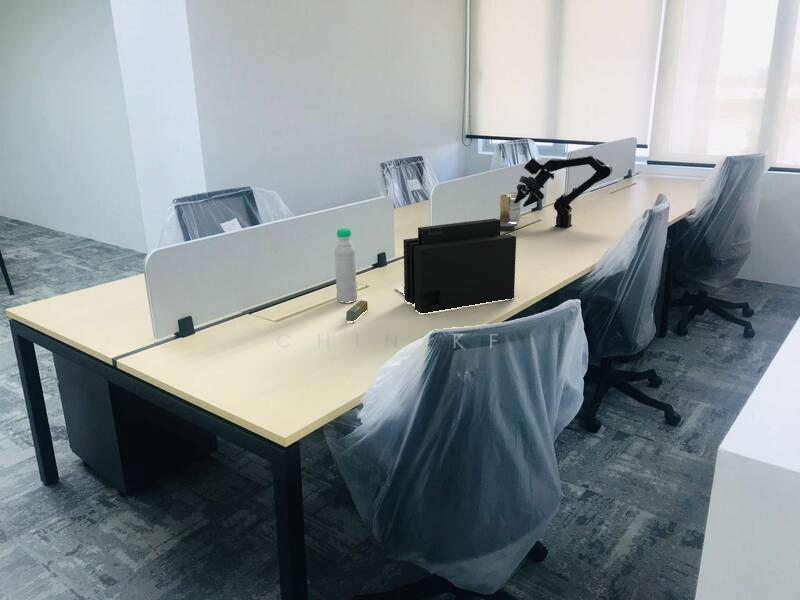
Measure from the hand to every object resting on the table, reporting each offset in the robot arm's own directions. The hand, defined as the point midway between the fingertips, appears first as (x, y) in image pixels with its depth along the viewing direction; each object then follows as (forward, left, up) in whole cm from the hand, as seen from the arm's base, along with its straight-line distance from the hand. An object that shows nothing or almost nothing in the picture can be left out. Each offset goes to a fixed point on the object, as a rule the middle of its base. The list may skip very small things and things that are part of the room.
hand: (518, 204), depth 329 cm
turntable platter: (+4, +6, -9) cm, 12 cm away
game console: (-38, +106, -11) cm, 113 cm away
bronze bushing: (+4, +6, -8) cm, 11 cm away
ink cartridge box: (+11, -11, -11) cm, 19 cm away
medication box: (-29, +142, -11) cm, 145 cm away
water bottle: (-15, +132, -11) cm, 134 cm away
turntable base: (+4, +6, -11) cm, 13 cm away
